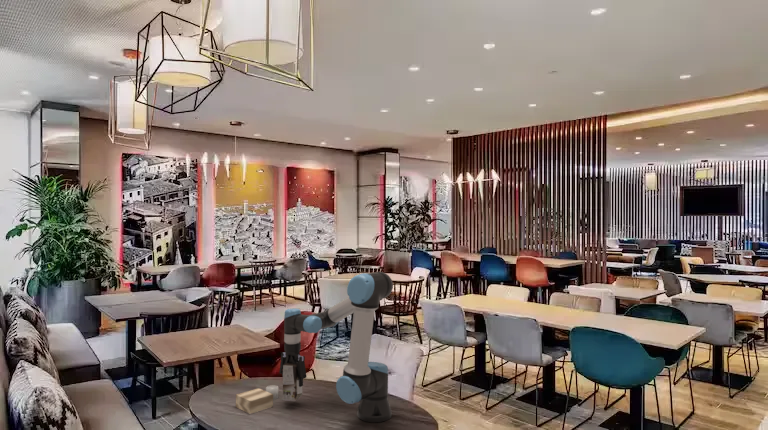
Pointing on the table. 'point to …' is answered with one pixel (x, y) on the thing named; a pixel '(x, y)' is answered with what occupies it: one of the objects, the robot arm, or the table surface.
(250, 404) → the maple block
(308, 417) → the table surface
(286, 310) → the robot arm
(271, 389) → the white rounded dome
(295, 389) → the coffee box
